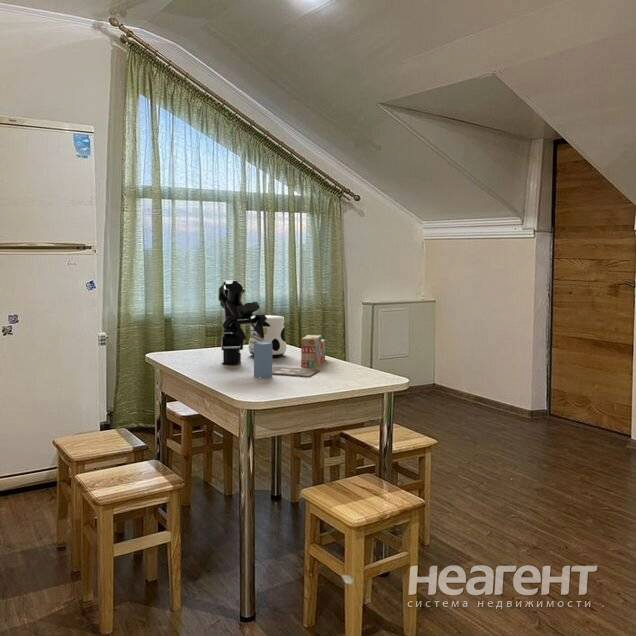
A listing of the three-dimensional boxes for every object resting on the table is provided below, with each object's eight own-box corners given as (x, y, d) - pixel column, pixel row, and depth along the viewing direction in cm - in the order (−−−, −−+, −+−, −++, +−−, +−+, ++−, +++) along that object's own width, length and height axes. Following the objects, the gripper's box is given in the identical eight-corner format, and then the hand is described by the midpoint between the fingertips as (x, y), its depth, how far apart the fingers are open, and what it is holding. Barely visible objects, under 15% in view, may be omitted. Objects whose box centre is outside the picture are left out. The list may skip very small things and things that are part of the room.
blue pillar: (253, 376, 249) (254, 342, 248) (264, 374, 253) (264, 341, 251) (261, 378, 246) (262, 344, 244) (272, 376, 249) (272, 343, 248)
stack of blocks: (311, 359, 292) (312, 332, 291) (325, 359, 291) (325, 332, 290) (300, 367, 271) (301, 338, 270) (315, 368, 270) (315, 338, 269)
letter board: (260, 373, 255) (260, 372, 255) (273, 367, 268) (273, 366, 268) (309, 377, 249) (309, 375, 249) (319, 371, 262) (320, 369, 262)
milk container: (243, 357, 292) (243, 318, 291) (255, 352, 309) (255, 314, 307) (279, 359, 288) (280, 319, 287) (290, 354, 305) (291, 316, 303)
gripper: (227, 295, 250) (245, 326, 244) (264, 294, 264) (282, 323, 257) (214, 314, 257) (232, 345, 250) (251, 312, 270) (268, 341, 263)
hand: (254, 338), depth 255 cm, fingers open, 9 cm apart
